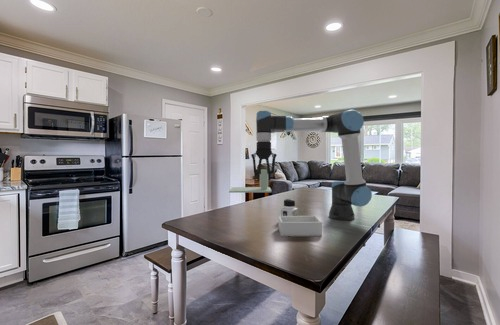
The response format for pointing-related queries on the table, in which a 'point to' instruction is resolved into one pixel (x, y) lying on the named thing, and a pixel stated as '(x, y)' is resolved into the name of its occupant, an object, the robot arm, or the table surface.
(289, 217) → the tub
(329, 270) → the table surface
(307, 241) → the table surface
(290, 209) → the container
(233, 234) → the table surface
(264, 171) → the green base with post
